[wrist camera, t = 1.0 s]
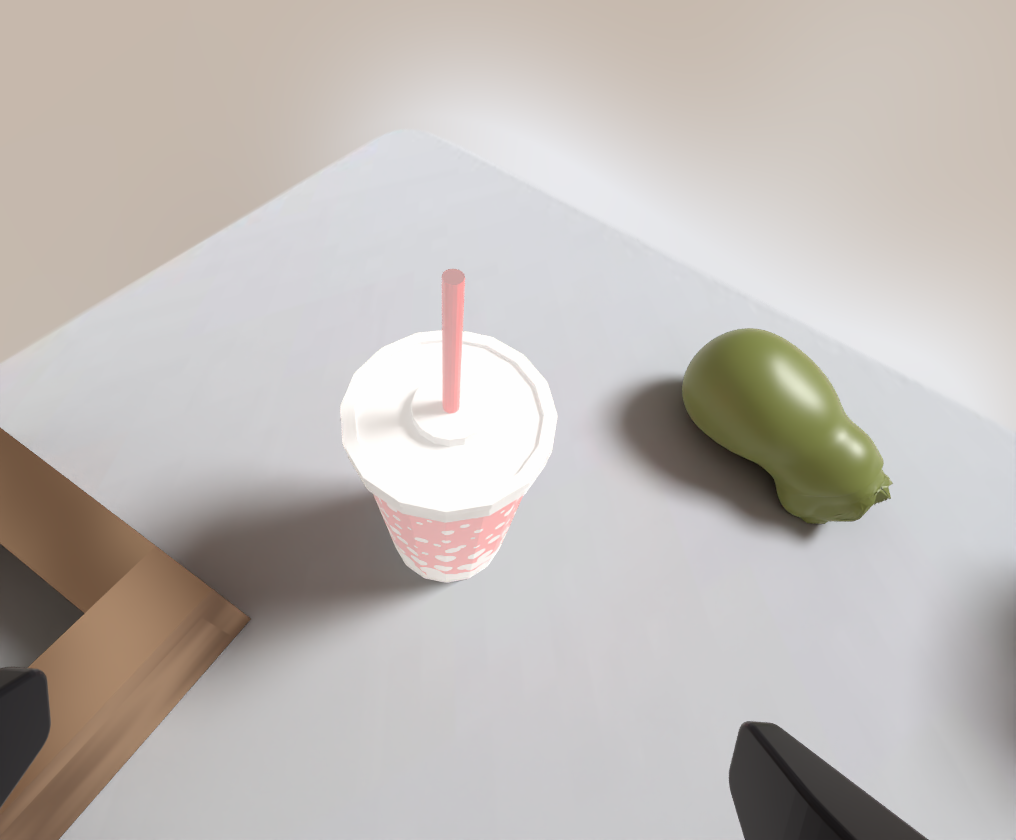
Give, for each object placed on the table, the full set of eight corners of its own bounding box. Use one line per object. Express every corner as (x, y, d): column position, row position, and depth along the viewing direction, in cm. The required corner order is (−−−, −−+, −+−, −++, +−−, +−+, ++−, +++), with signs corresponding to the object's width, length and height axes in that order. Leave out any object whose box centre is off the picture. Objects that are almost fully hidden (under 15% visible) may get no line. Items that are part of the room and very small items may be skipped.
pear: (768, 286, 25) (946, 449, 23) (705, 349, 30) (849, 488, 28) (698, 345, 22) (891, 533, 21) (642, 403, 27) (795, 561, 25)
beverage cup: (523, 603, 22) (616, 407, 10) (365, 601, 21) (266, 391, 9) (519, 465, 25) (586, 195, 13) (382, 461, 24) (324, 174, 13)
